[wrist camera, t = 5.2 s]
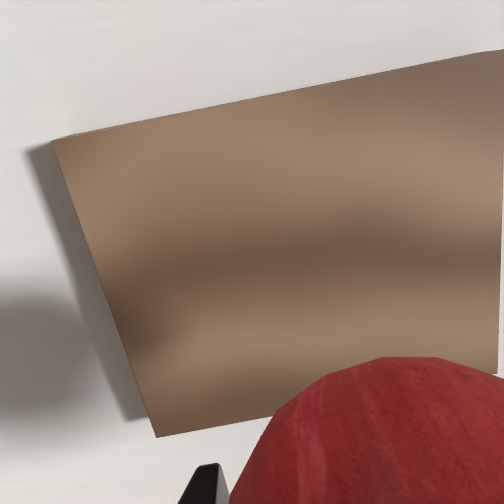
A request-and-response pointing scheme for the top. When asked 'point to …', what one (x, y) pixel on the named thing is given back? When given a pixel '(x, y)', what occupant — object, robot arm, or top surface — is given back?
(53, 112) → the top surface
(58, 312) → the top surface
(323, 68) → the top surface
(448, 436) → the onion
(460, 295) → the walnut board
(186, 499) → the robot arm
